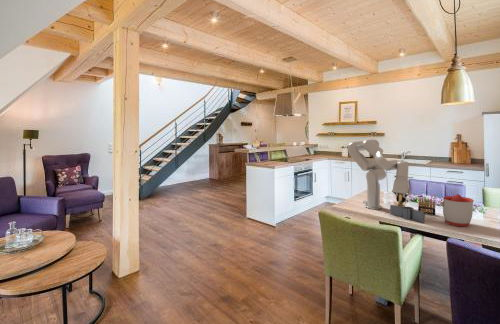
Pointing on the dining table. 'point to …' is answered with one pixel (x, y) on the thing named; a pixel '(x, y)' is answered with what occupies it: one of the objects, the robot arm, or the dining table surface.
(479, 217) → the dining table surface
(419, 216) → the hinge
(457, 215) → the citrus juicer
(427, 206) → the ammunition clip
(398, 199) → the hinge pin
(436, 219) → the dining table surface
